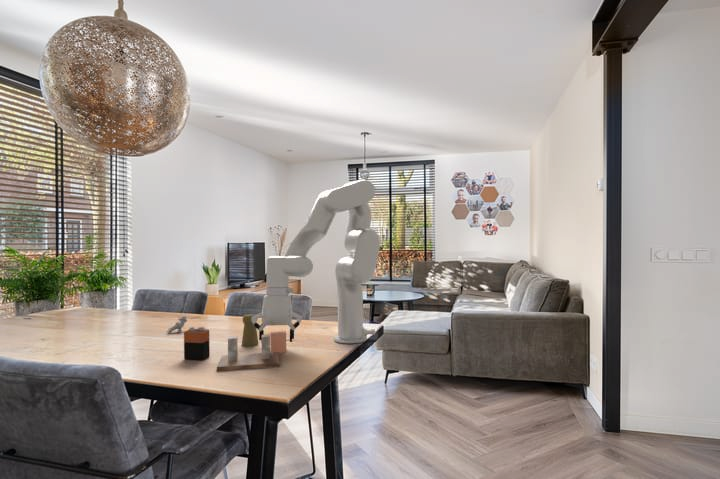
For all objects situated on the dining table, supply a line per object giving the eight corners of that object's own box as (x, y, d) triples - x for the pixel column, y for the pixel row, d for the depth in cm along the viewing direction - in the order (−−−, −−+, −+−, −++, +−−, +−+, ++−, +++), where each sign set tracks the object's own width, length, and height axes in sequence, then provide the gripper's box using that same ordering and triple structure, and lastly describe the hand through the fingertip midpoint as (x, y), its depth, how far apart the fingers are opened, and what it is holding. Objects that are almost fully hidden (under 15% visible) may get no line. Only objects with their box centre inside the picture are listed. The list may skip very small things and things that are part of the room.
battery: (202, 360, 131) (202, 329, 131) (183, 359, 132) (183, 328, 132) (210, 357, 135) (209, 326, 135) (191, 356, 136) (191, 325, 136)
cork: (254, 347, 147) (253, 316, 147) (238, 346, 148) (238, 315, 148) (261, 342, 153) (261, 313, 153) (246, 342, 154) (246, 312, 154)
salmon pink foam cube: (285, 348, 145) (285, 329, 145) (286, 352, 140) (286, 332, 140) (270, 349, 144) (270, 330, 144) (270, 353, 139) (270, 333, 139)
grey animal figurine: (161, 332, 172) (179, 321, 179) (170, 342, 171) (188, 331, 178) (166, 320, 166) (185, 309, 173) (176, 330, 165) (194, 319, 172)
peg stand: (278, 355, 136) (278, 330, 136) (279, 366, 124) (279, 339, 124) (221, 359, 132) (221, 333, 132) (216, 371, 121) (216, 343, 121)
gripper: (301, 290, 147) (301, 338, 147) (252, 290, 144) (251, 340, 144) (303, 292, 140) (302, 343, 140) (251, 293, 136) (250, 345, 136)
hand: (276, 341), depth 142 cm, fingers open, 9 cm apart
